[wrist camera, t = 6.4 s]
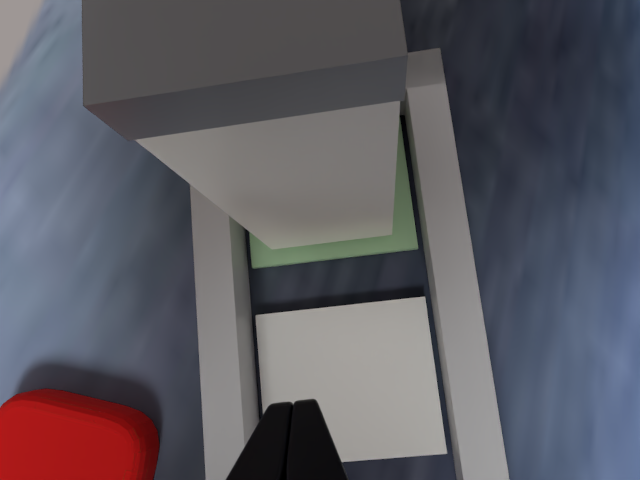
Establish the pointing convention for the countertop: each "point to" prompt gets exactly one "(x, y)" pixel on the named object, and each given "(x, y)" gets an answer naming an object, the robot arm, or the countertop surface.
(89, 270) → the countertop surface
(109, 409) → the popsicle
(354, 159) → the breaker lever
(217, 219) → the frame
